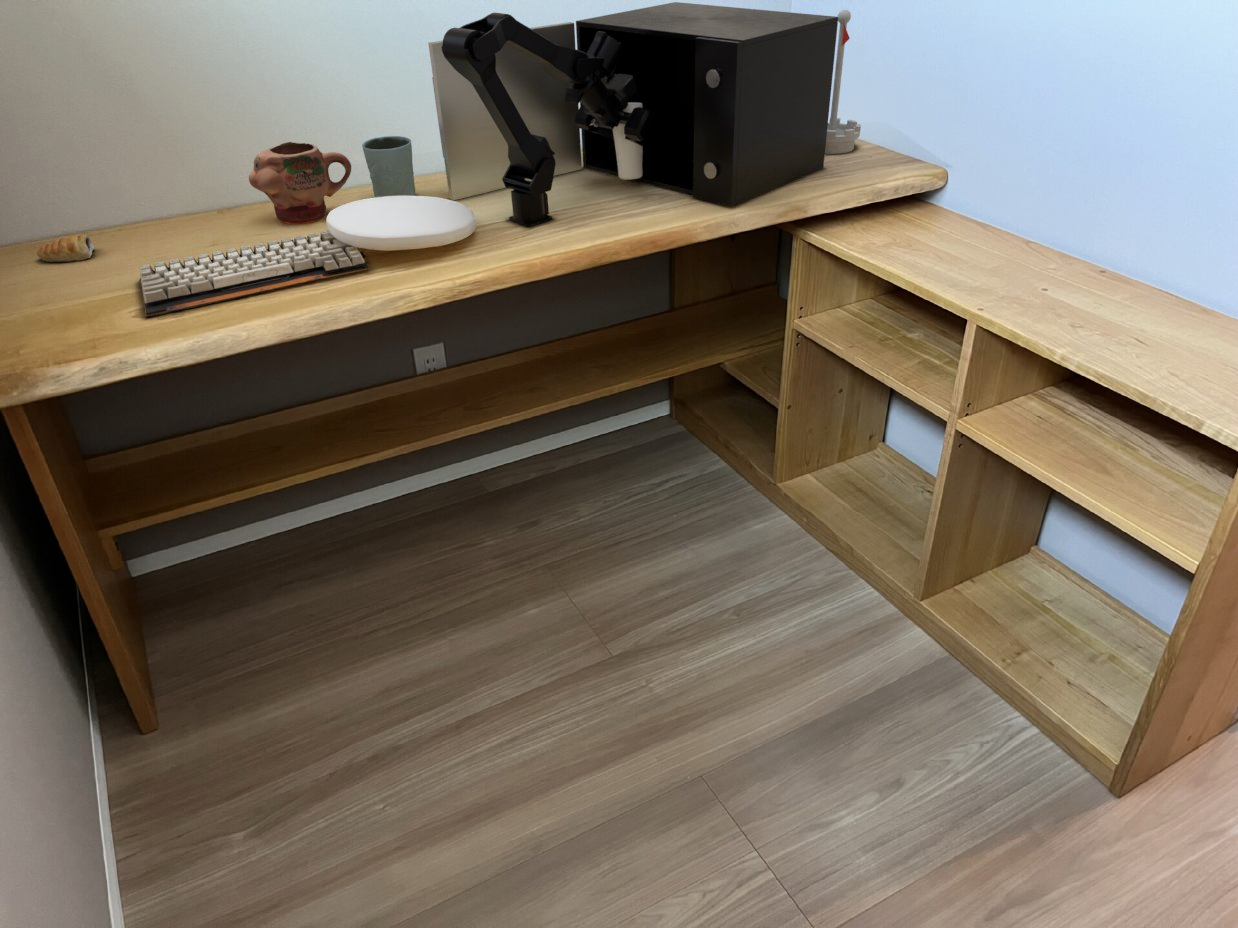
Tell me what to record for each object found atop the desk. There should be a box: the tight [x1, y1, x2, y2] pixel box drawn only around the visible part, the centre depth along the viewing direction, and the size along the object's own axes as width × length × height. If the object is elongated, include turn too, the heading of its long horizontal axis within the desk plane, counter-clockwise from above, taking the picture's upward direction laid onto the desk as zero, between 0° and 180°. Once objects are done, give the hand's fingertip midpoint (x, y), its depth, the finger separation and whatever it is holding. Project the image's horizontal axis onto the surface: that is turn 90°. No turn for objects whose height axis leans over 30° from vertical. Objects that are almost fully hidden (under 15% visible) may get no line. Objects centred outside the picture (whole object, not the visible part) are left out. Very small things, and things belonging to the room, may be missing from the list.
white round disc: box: [325, 195, 477, 252], centre depth 169 cm, size 28×6×27 cm
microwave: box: [575, 1, 839, 208], centre depth 195 cm, size 35×44×31 cm
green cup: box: [361, 135, 417, 198], centre depth 189 cm, size 10×10×12 cm
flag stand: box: [825, 9, 862, 155], centre depth 207 cm, size 13×13×30 cm
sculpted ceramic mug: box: [248, 141, 352, 225], centre depth 181 cm, size 20×12×14 cm, turn 117°
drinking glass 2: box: [613, 103, 643, 181], centre depth 191 cm, size 7×7×15 cm
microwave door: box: [427, 21, 583, 201], centre depth 192 cm, size 7×34×31 cm, turn 127°
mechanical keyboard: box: [138, 229, 370, 318], centre depth 158 cm, size 38×19×3 cm, turn 118°
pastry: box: [35, 233, 95, 263], centre depth 168 cm, size 9×7×4 cm
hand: (633, 142), depth 192 cm, fingers closed on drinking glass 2, 6 cm apart
